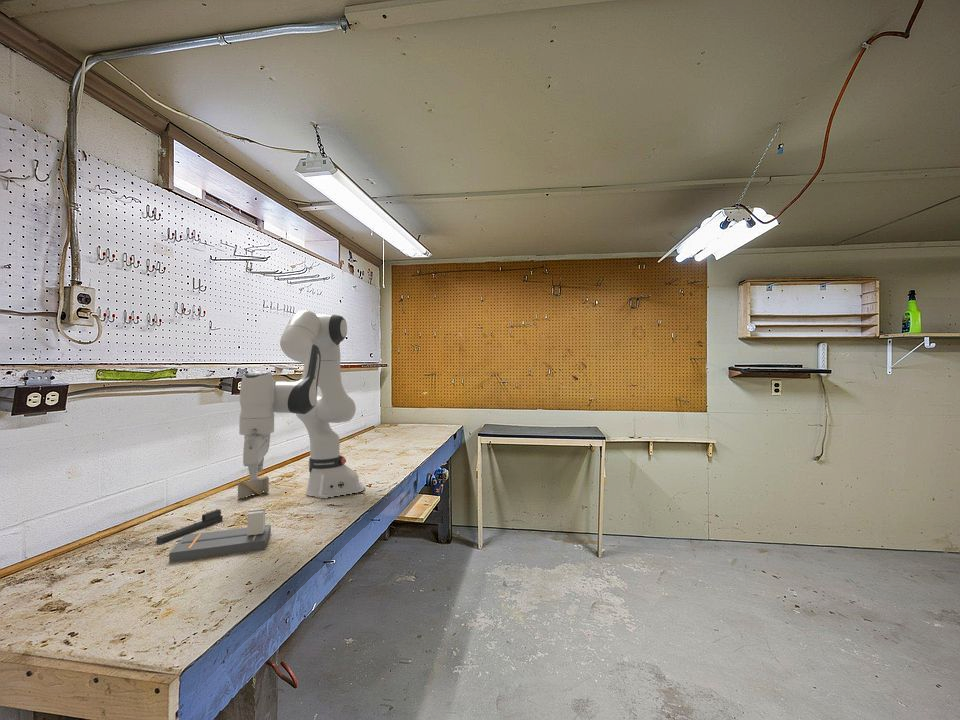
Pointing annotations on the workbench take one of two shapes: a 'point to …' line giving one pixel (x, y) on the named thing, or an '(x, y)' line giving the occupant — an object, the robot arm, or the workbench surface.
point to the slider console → (218, 544)
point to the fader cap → (256, 521)
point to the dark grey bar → (193, 526)
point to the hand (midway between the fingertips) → (256, 475)
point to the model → (253, 486)
